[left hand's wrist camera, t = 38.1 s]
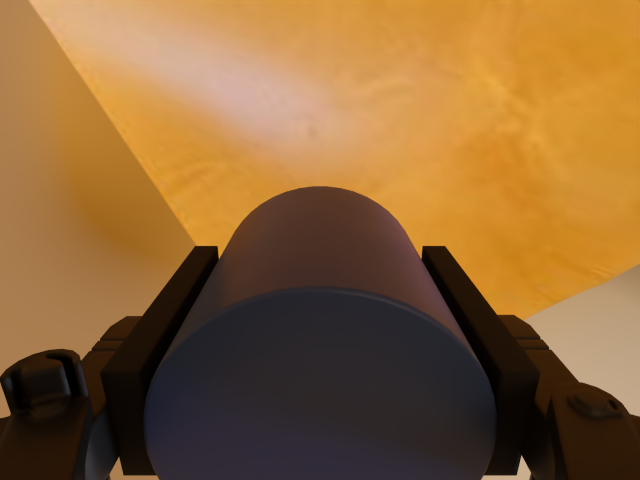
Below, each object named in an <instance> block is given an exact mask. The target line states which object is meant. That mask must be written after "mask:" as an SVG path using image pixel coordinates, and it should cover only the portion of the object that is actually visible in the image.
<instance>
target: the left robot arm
mask: <svg viewBox="0 0 640 480" xmlns="http://www.w3.org/2000/svg"><path fill="white" fill-rule="evenodd" d="M218 260H219V257H218V246H195V247H194V249H193V250H192V251H191V252H190V254H189V255H188V256H187V258H186V259H185V260H184V262H183V263H182V264H181V266H180V267H179V268H178V270H177V271H176V272H175V274H174V275H173V276H172V278H171V279H170V280H169V282H168V283H167V284H166V285H165V287H164V288H163V290H162V291H161V292H160V293H159V295H158V296H157V297H156V299H155V300H154V301H153V303H152V304H151V305H150V307H149V308H148V309H147V311H146V312H145V313H144V315H143V316H126V317H125V318H123V319H122V320H120V321H119V322H117V323H115V324H114V325H112V326H111V327H110V328H109V329H108V330H107V331H106V332H105V334H104V335H103V336H102V337H101V338H100V341H98V342H97V343H96V344H95V345H94V347H93V348H92V351H89V352H88V353H87V355H86V356H85V357H84V358H83V359H82V361H81V360H80V356H79V355H78V354H77V353H76V352H74V351H73V350H66V349H55V350H47V351H43V352H40V353H36V354H33V355H31V356H28V357H26V358H24V359H22V360H19V361H18V362H16V363H15V364H13V365H12V366H10V367H9V368H8V369H6V370H5V372H4V373H3V374H2V375H1V376H0V383H1V386H2V389H3V392H4V395H5V398H6V400H7V403H8V406H9V409H10V412H11V415H10V416H8V417H5V418H0V480H111V479H110V475H109V474H110V472H111V470H112V469H113V467H114V465H115V463H116V461H117V459H118V457H119V458H120V462H121V466H122V470H123V475H156V473H155V471H154V469H153V467H152V464H151V461H150V459H149V456H148V453H147V448H146V444H145V439H144V421H143V414H144V407H145V400H146V396H147V392H148V389H149V386H150V383H151V380H152V378H153V376H154V374H155V372H156V370H157V368H158V366H159V365H160V363H161V361H162V359H163V357H164V356H165V354H166V352H167V350H168V349H169V347H170V345H171V343H172V341H173V340H174V338H175V336H176V334H177V333H178V331H179V329H180V327H181V326H182V324H183V322H184V320H185V319H186V317H187V315H188V313H189V312H190V310H191V308H192V306H193V304H194V303H195V301H196V299H197V297H198V296H199V294H200V292H201V290H202V289H203V287H204V285H205V283H206V282H207V280H208V278H209V276H210V275H211V273H212V271H213V269H214V268H215V266H216V264H217V262H218ZM422 262H423V263H424V265H425V267H426V269H427V271H428V272H429V274H430V276H431V278H432V279H433V281H434V283H435V285H436V286H437V288H438V290H439V292H440V293H441V295H442V297H443V299H444V300H445V302H446V304H447V306H448V308H449V309H450V311H451V313H452V315H453V316H454V318H455V320H456V322H457V323H458V325H459V327H460V329H461V330H462V332H463V334H464V336H465V337H466V339H467V341H468V343H469V345H470V346H471V348H472V350H473V352H474V353H475V355H476V357H477V359H478V360H479V362H480V364H481V366H482V368H483V370H484V372H485V373H486V375H487V377H488V379H489V382H490V385H491V388H492V391H493V394H494V398H495V405H496V412H497V433H496V440H495V445H494V450H493V454H492V457H491V460H490V462H489V465H488V468H487V470H486V472H485V474H484V475H517V471H518V467H519V463H520V459H521V455H522V457H523V458H524V460H525V462H526V464H527V466H528V468H529V470H530V471H531V475H530V479H529V480H640V417H639V416H635V415H631V414H629V412H628V411H627V409H626V408H625V407H624V405H623V404H622V403H621V402H620V401H618V400H617V399H616V398H615V397H613V396H612V395H611V394H609V393H607V392H605V391H603V390H601V389H599V388H597V387H595V386H591V385H588V384H585V383H580V382H579V381H578V380H577V379H576V378H575V377H574V376H573V375H572V373H571V372H570V371H569V370H568V369H567V368H566V366H565V365H564V364H563V363H562V362H561V361H560V359H559V358H558V357H557V356H556V355H555V354H554V352H553V351H552V350H549V347H548V345H547V344H546V343H545V342H544V341H543V340H541V339H540V336H539V335H538V334H537V333H536V332H535V330H534V329H533V328H532V327H531V326H530V325H529V324H527V323H526V322H524V321H523V320H521V319H519V318H518V317H516V316H515V315H497V314H496V313H495V312H494V310H493V309H492V308H491V306H490V305H489V304H488V302H487V301H486V300H485V298H484V297H483V296H482V294H481V293H480V292H479V290H478V289H477V288H476V286H475V285H474V284H473V282H472V281H471V280H470V278H469V277H468V276H467V275H466V273H465V272H464V271H463V269H462V268H461V267H460V265H459V264H458V263H457V261H456V260H455V259H454V257H453V256H452V255H451V253H450V252H449V251H448V249H447V248H446V247H445V246H423V249H422Z"/></svg>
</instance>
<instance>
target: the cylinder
mask: <svg viewBox="0 0 640 480" xmlns="http://www.w3.org/2000/svg"><path fill="white" fill-rule="evenodd" d="M143 421H144V439H145V444H146V448H147V453H148V456H149V459H150V461H151V464H152V467H153V469H154V471H155V473H156V475H157V476H158V478H159V480H481V479H482V477H483V475H484V474H485V472H486V470H487V468H488V465H489V462H490V460H491V457H492V454H493V450H494V445H495V440H496V433H497V412H496V405H495V398H494V394H493V391H492V388H491V385H490V382H489V379H488V377H487V375H486V373H485V372H484V370H483V368H482V366H481V364H480V362H479V360H478V359H477V357H476V355H475V353H474V352H473V350H472V348H471V346H470V345H469V343H468V341H467V339H466V337H465V336H464V334H463V332H462V330H461V329H460V327H459V325H458V323H457V322H456V320H455V318H454V316H453V315H452V313H451V311H450V309H449V308H448V306H447V304H446V302H445V300H444V299H443V297H442V295H441V293H440V292H439V290H438V288H437V286H436V285H435V283H434V281H433V279H432V278H431V276H430V274H429V272H428V271H427V269H426V267H425V265H424V263H423V262H422V260H421V258H420V256H419V255H418V253H417V251H416V249H415V248H414V246H413V244H412V242H411V241H410V239H409V237H408V235H407V233H406V232H405V230H404V229H403V227H402V226H401V225H400V223H399V222H398V221H397V220H396V219H395V218H394V217H393V216H392V214H391V213H390V212H389V211H387V210H386V209H385V208H383V207H382V206H381V205H379V204H378V203H376V202H375V201H373V200H371V199H369V198H368V197H366V196H363V195H361V194H358V193H356V192H353V191H349V190H346V189H342V188H335V187H327V186H318V187H305V188H299V189H295V190H291V191H287V192H284V193H282V194H280V195H277V196H275V197H273V198H271V199H269V200H267V201H266V202H264V203H262V204H261V205H260V206H258V207H257V208H256V209H254V210H253V211H252V212H251V213H250V214H249V215H248V216H247V217H246V218H245V219H244V220H243V221H242V222H241V224H240V225H239V227H238V228H237V229H236V231H235V232H234V234H233V236H232V238H231V239H230V241H229V243H228V245H227V246H226V248H225V250H224V252H223V253H222V255H221V257H220V259H219V260H218V262H217V264H216V266H215V268H214V269H213V271H212V273H211V275H210V276H209V278H208V280H207V282H206V283H205V285H204V287H203V289H202V290H201V292H200V294H199V296H198V297H197V299H196V301H195V303H194V304H193V306H192V308H191V310H190V312H189V313H188V315H187V317H186V319H185V320H184V322H183V324H182V326H181V327H180V329H179V331H178V333H177V334H176V336H175V338H174V340H173V341H172V343H171V345H170V347H169V349H168V350H167V352H166V354H165V356H164V357H163V359H162V361H161V363H160V365H159V366H158V368H157V370H156V372H155V374H154V376H153V378H152V380H151V383H150V386H149V389H148V392H147V396H146V400H145V407H144V414H143Z"/></svg>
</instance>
